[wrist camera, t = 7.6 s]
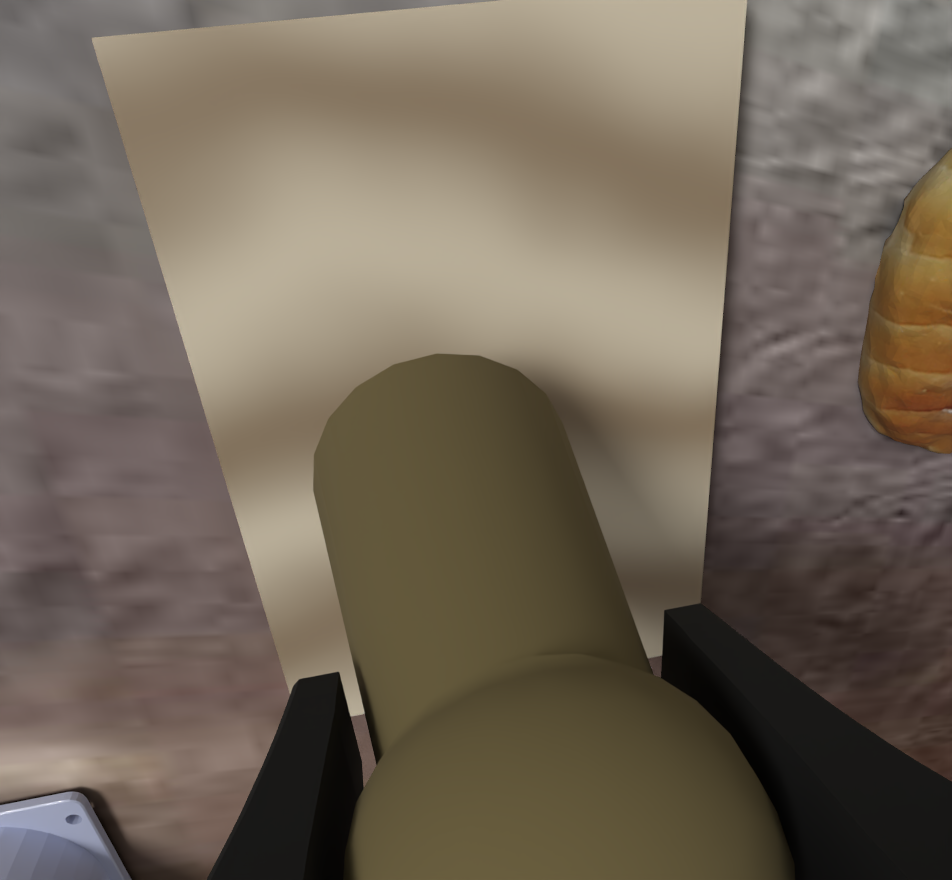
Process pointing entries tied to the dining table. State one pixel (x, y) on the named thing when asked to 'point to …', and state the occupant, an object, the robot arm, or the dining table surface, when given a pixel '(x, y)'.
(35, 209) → the dining table surface
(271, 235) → the birch board
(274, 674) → the dining table surface
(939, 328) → the pastry
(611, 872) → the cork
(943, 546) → the dining table surface
